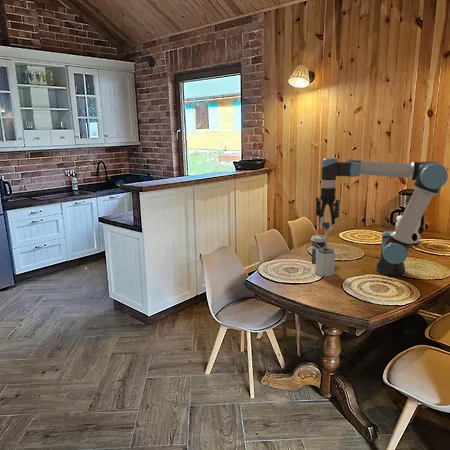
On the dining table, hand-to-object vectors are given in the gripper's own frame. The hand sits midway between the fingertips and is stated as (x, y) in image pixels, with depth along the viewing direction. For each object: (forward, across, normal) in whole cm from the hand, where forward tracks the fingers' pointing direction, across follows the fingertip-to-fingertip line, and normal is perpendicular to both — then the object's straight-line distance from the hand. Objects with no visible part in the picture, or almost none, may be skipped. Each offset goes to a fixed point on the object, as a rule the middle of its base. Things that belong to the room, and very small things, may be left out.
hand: (326, 229), depth 212 cm
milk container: (+26, -15, -88) cm, 93 cm away
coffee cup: (+26, +14, -17) cm, 34 cm away
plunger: (+14, 0, 0) cm, 14 cm away
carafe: (+26, +2, 0) cm, 26 cm away
